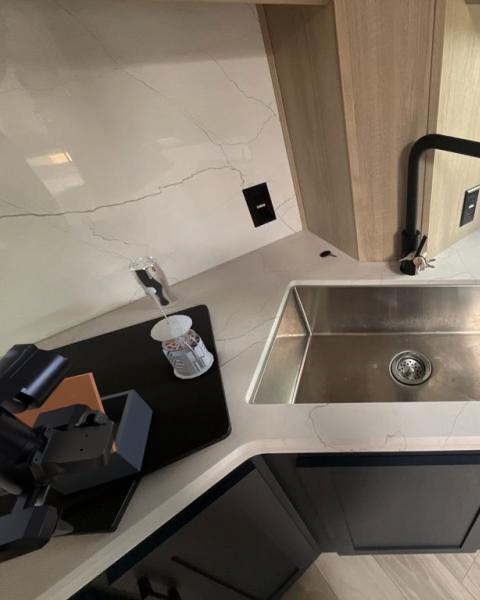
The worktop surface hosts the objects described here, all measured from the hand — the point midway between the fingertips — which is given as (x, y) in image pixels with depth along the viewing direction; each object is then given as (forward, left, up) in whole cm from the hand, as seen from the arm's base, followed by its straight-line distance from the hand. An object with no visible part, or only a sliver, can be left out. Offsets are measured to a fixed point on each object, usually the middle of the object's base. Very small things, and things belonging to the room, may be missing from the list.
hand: (80, 496), depth 47 cm
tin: (+8, +14, -13) cm, 21 cm away
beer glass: (+45, +42, -13) cm, 63 cm away
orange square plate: (+7, +13, +2) cm, 14 cm away
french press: (+30, +15, -13) cm, 36 cm away
